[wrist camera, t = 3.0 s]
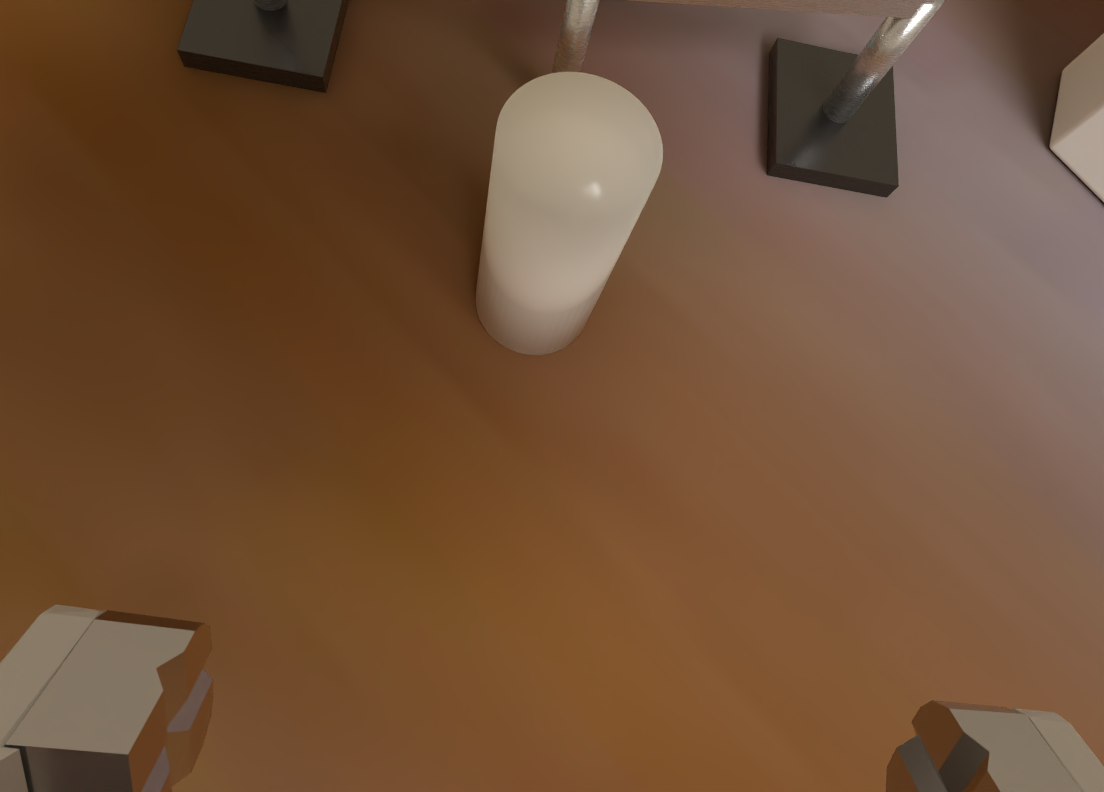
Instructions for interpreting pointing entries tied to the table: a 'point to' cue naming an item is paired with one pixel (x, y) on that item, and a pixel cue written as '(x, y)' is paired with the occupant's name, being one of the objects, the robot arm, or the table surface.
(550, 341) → the salt shaker
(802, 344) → the table surface
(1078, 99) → the jar
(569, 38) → the bent bar stand
